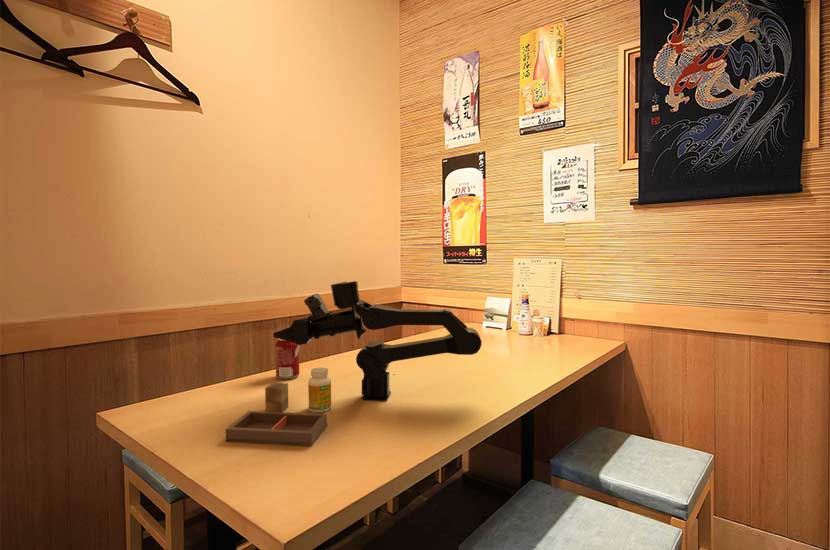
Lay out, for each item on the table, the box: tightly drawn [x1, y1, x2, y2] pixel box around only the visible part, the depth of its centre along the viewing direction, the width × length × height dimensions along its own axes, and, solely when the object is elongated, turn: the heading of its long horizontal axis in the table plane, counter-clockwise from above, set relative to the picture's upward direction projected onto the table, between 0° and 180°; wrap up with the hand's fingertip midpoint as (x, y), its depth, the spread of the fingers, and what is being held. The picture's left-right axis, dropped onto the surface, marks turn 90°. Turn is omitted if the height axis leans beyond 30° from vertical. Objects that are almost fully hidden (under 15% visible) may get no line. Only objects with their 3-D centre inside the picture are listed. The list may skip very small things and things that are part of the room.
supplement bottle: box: [307, 366, 332, 413], centre depth 109 cm, size 5×5×10 cm
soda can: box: [274, 338, 300, 381], centre depth 135 cm, size 7×7×12 cm
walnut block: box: [264, 382, 289, 413], centre depth 109 cm, size 4×4×6 cm
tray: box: [225, 410, 328, 447], centre depth 95 cm, size 18×10×3 cm, turn 83°
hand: (280, 332), depth 118 cm, fingers open, 9 cm apart
